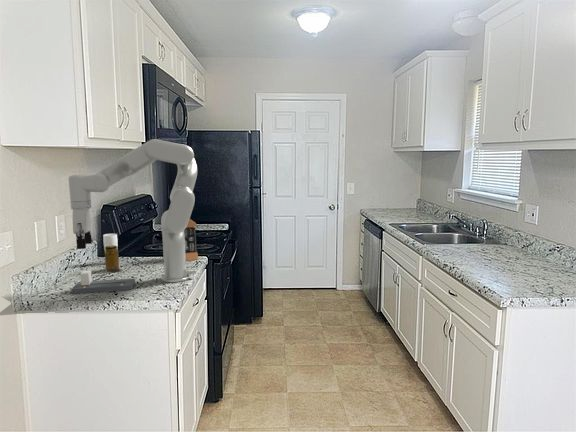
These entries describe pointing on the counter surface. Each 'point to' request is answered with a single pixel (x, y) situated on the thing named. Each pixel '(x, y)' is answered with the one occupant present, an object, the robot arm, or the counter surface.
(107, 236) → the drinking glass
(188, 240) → the whiskey bottle
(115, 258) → the condiment
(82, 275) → the fader knob
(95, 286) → the fader panel
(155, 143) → the robot arm
